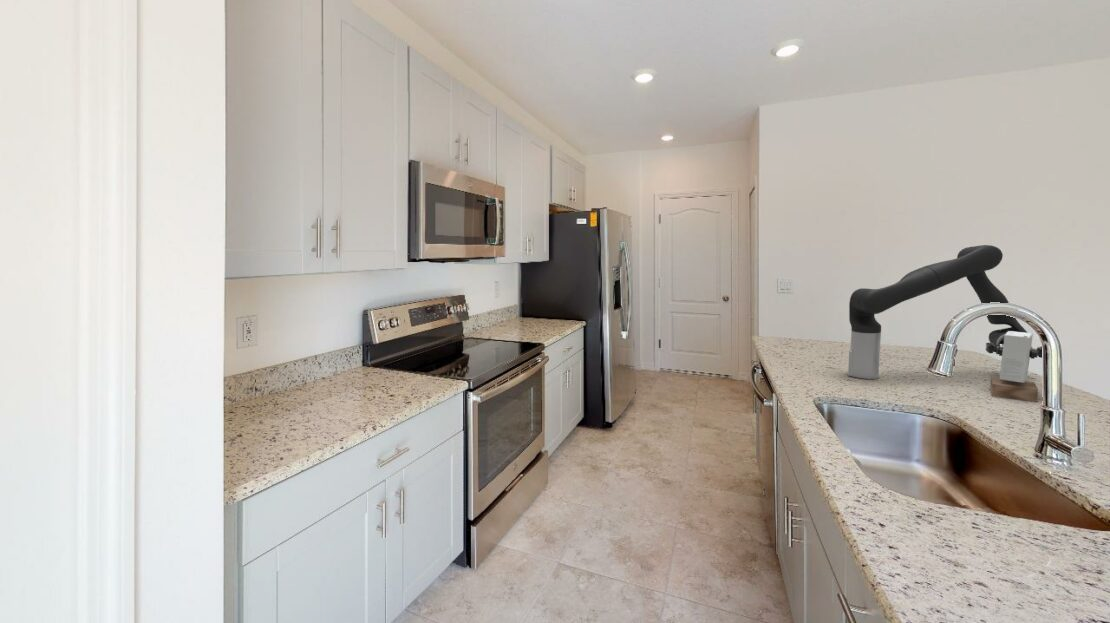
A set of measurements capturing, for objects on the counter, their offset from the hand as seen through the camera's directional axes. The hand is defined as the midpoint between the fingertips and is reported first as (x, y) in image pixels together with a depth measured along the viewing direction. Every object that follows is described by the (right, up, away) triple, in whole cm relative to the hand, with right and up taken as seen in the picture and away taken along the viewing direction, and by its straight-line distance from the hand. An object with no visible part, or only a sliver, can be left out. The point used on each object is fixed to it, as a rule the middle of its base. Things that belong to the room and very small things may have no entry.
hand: (1017, 354), depth 143 cm
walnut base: (+2, -14, +3) cm, 14 cm away
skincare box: (+2, -8, +3) cm, 9 cm away
